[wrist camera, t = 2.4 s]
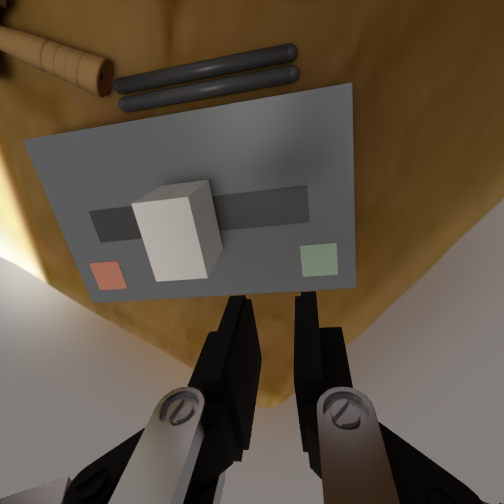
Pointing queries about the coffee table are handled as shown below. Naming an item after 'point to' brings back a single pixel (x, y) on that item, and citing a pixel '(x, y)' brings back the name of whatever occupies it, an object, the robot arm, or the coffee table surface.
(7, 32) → the kendama
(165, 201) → the breaker knob
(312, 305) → the robot arm
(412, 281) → the coffee table surface
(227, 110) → the switch panel
